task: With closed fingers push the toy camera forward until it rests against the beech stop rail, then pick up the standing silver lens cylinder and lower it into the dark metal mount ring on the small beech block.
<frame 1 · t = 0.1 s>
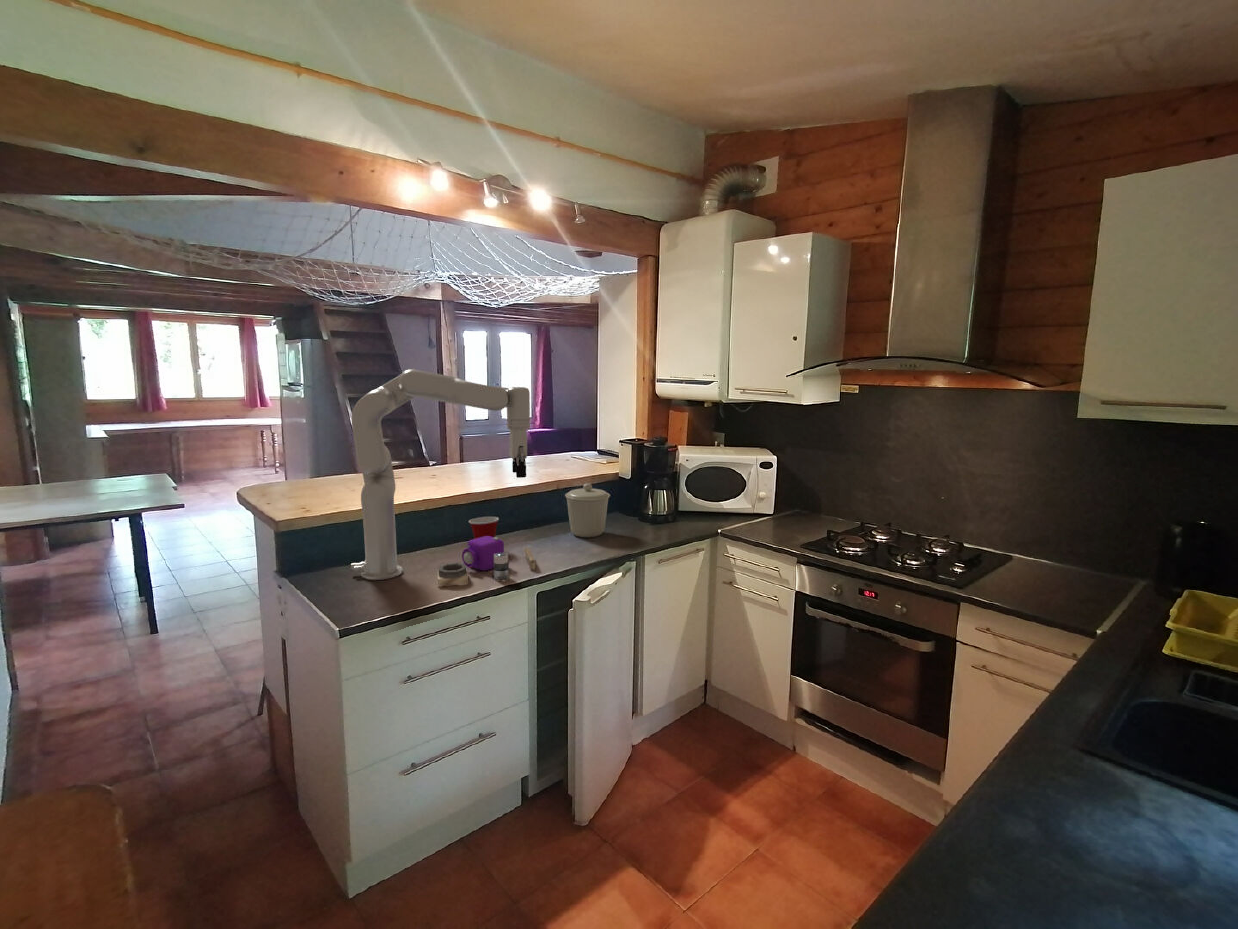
hand: (519, 474, 206), 31 cm above the countertop, tool pointing down, fingers open, 9 cm apart
mount: (452, 581, 192), on the countertop
plastic cup: (484, 550, 225), on the countertop
lens: (501, 578, 195), on the countertop
toy camera: (482, 568, 206), on the countertop
canister: (587, 534, 248), on the countertop
stop rail: (529, 563, 210), on the countertop
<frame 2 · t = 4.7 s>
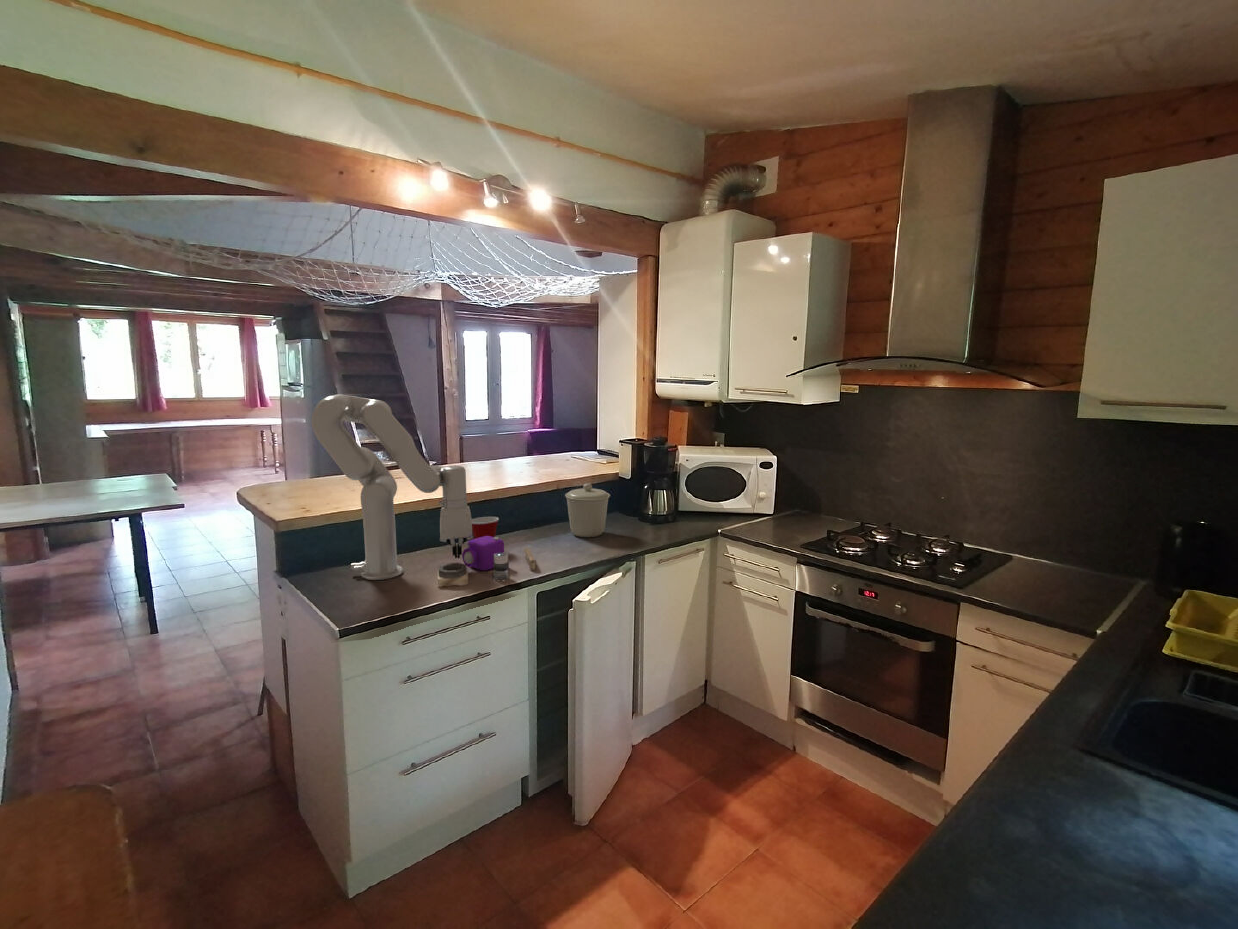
hand: (457, 557, 203), 4 cm above the countertop, tool pointing down, fingers closed
toy camera: (482, 568, 206), on the countertop, touching gripper
everything else where it was.
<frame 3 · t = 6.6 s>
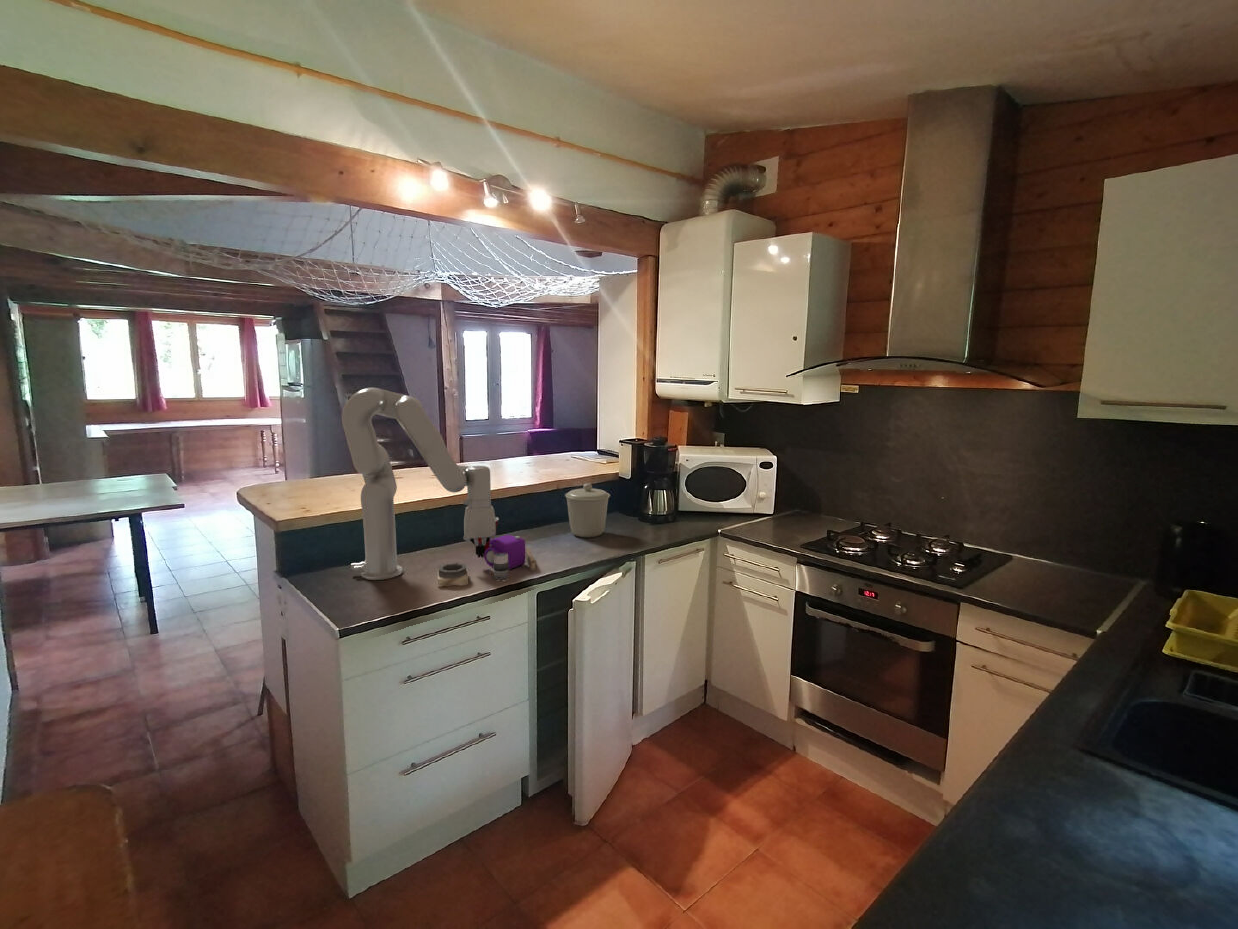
hand: (480, 556, 205), 4 cm above the countertop, tool pointing down, fingers closed
toy camera: (504, 567, 207), on the countertop, touching gripper
everything else where it was.
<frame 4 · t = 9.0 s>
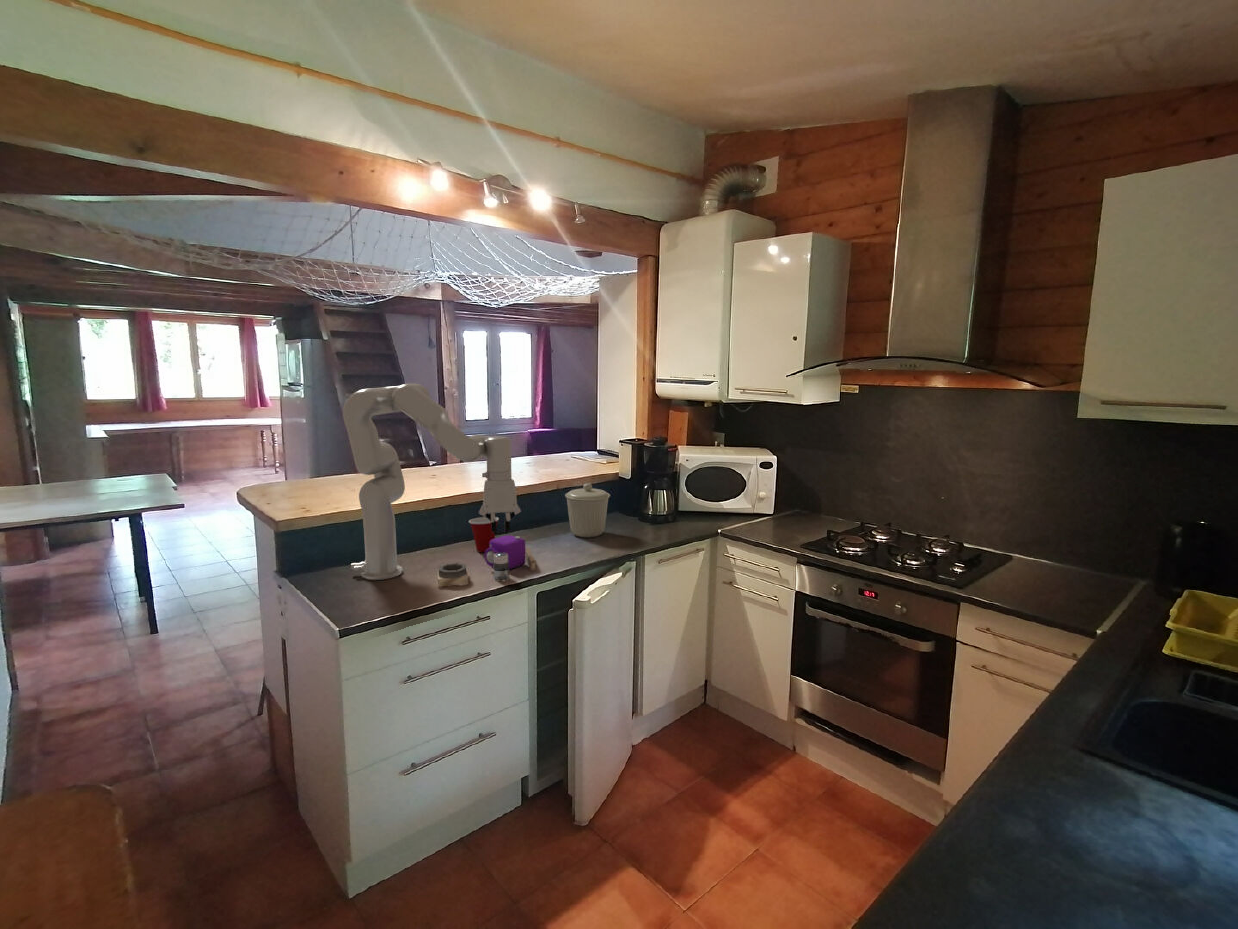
hand: (500, 532, 193), 15 cm above the countertop, tool pointing down, fingers closed
toy camera: (504, 567, 207), on the countertop
everything else where it was.
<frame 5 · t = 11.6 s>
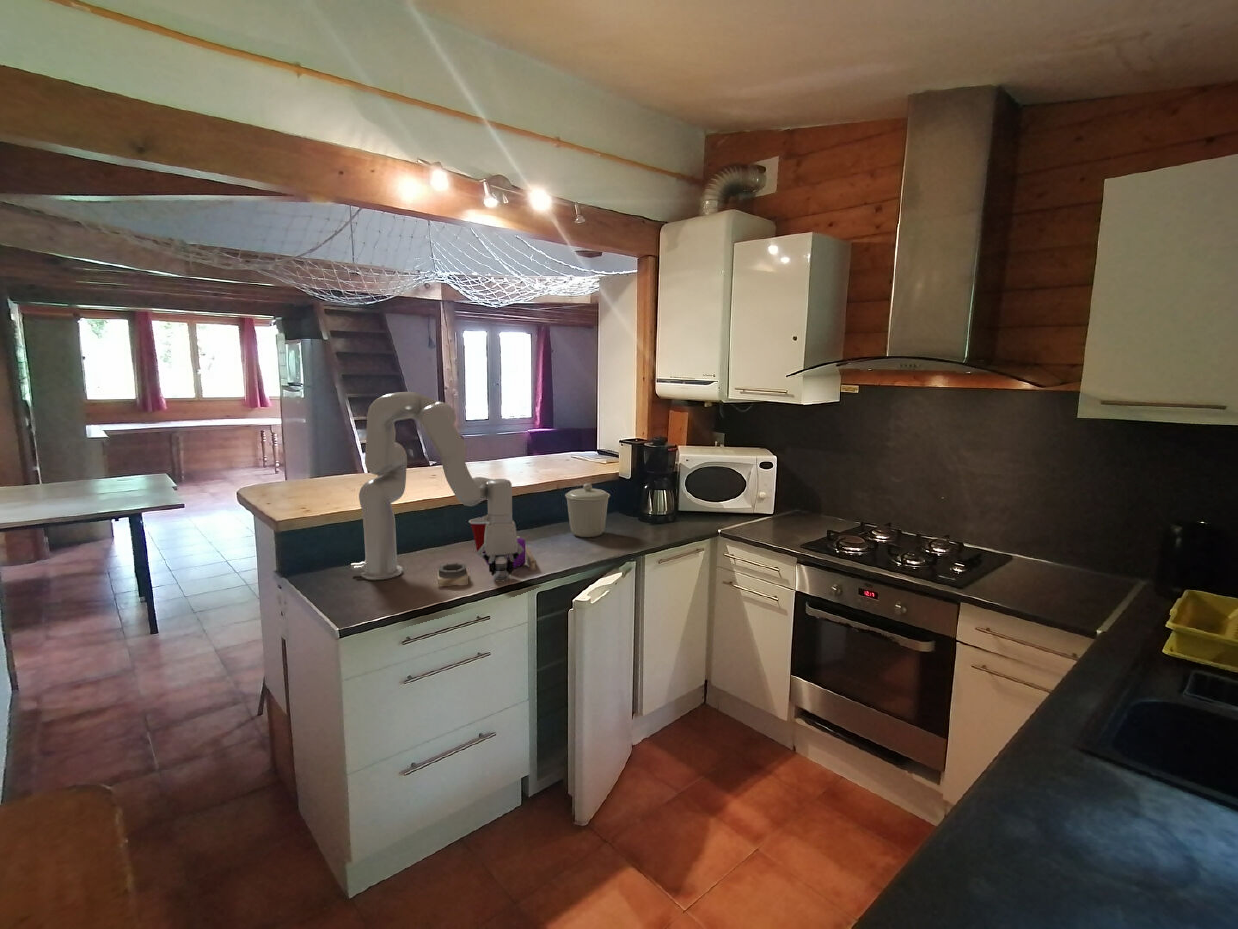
hand: (501, 572, 195), 2 cm above the countertop, tool pointing down, fingers closed on lens, 4 cm apart
lens: (501, 578, 195), on the countertop, touching gripper
everything else where it was.
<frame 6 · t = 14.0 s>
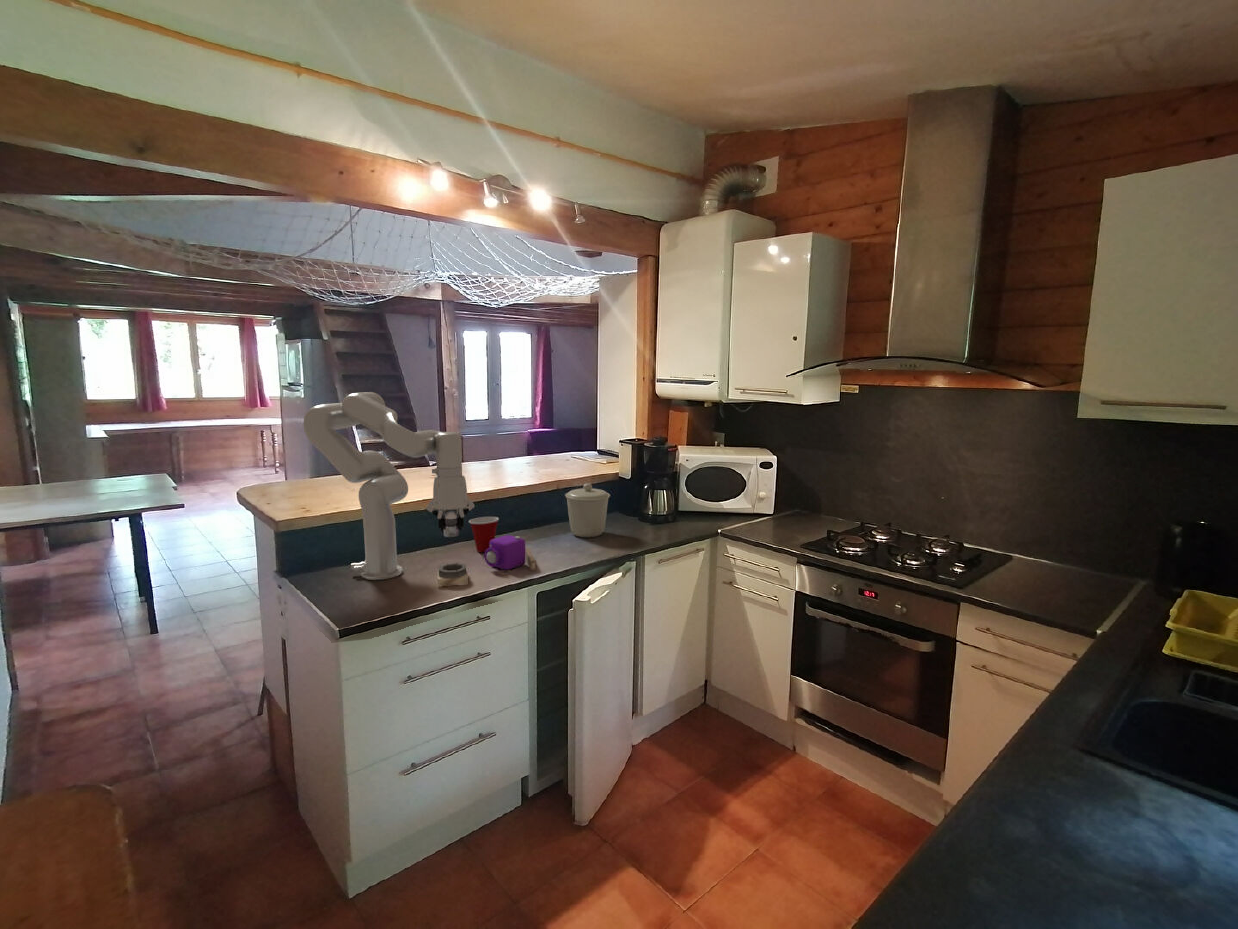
hand: (451, 529, 190), 17 cm above the countertop, tool pointing down, fingers closed on lens, 4 cm apart
lens: (451, 535, 190), point 15 cm above the countertop, touching gripper
everything else where it was.
when the fingers open (5 cm above the countertop, at t = 16.4 s): lens stays where it is, resting on mount.
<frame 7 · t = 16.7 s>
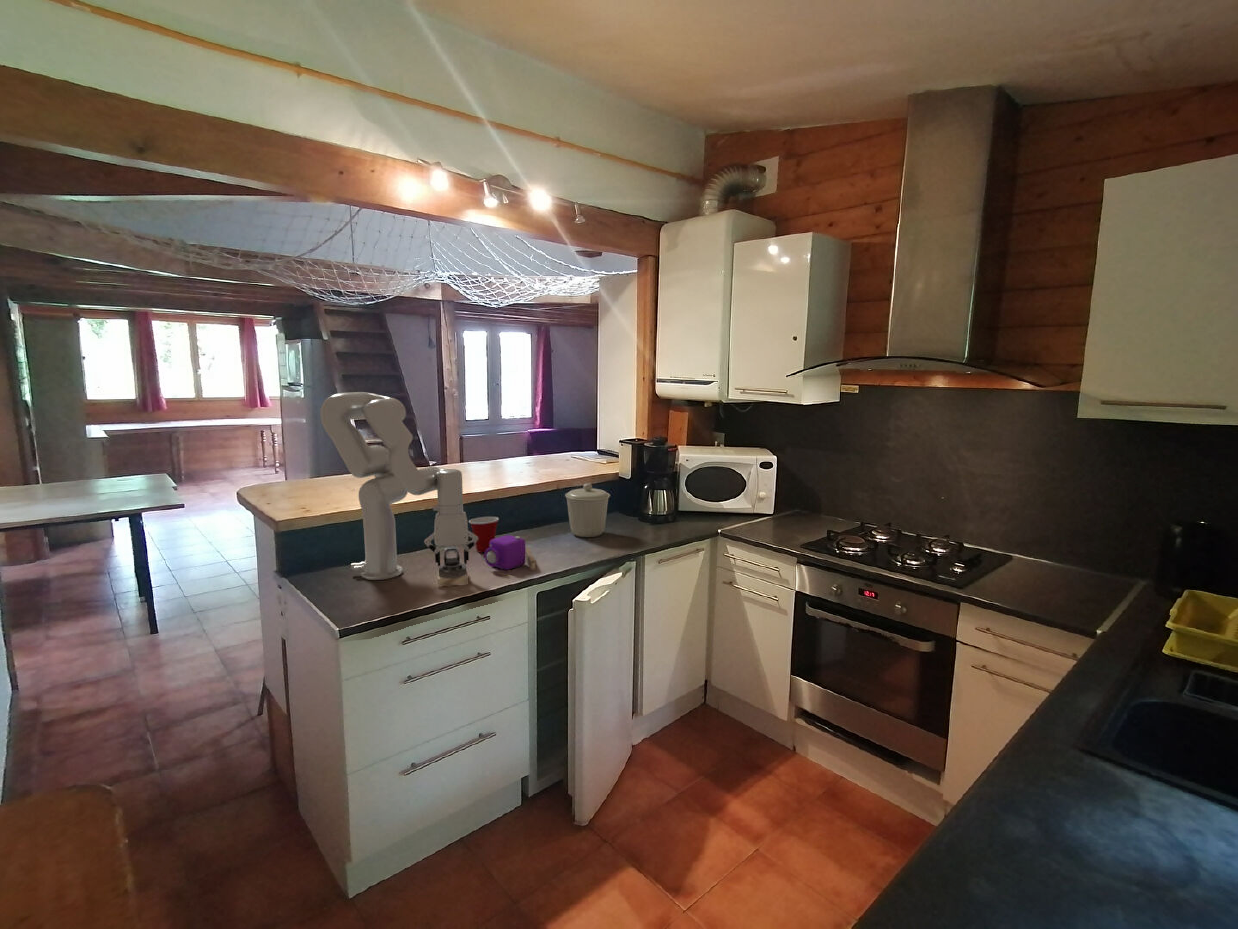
hand: (452, 563, 191), 6 cm above the countertop, tool pointing down, fingers open, 7 cm apart
lens: (452, 573, 192), point 3 cm above the countertop, touching mount
everything else where it was.
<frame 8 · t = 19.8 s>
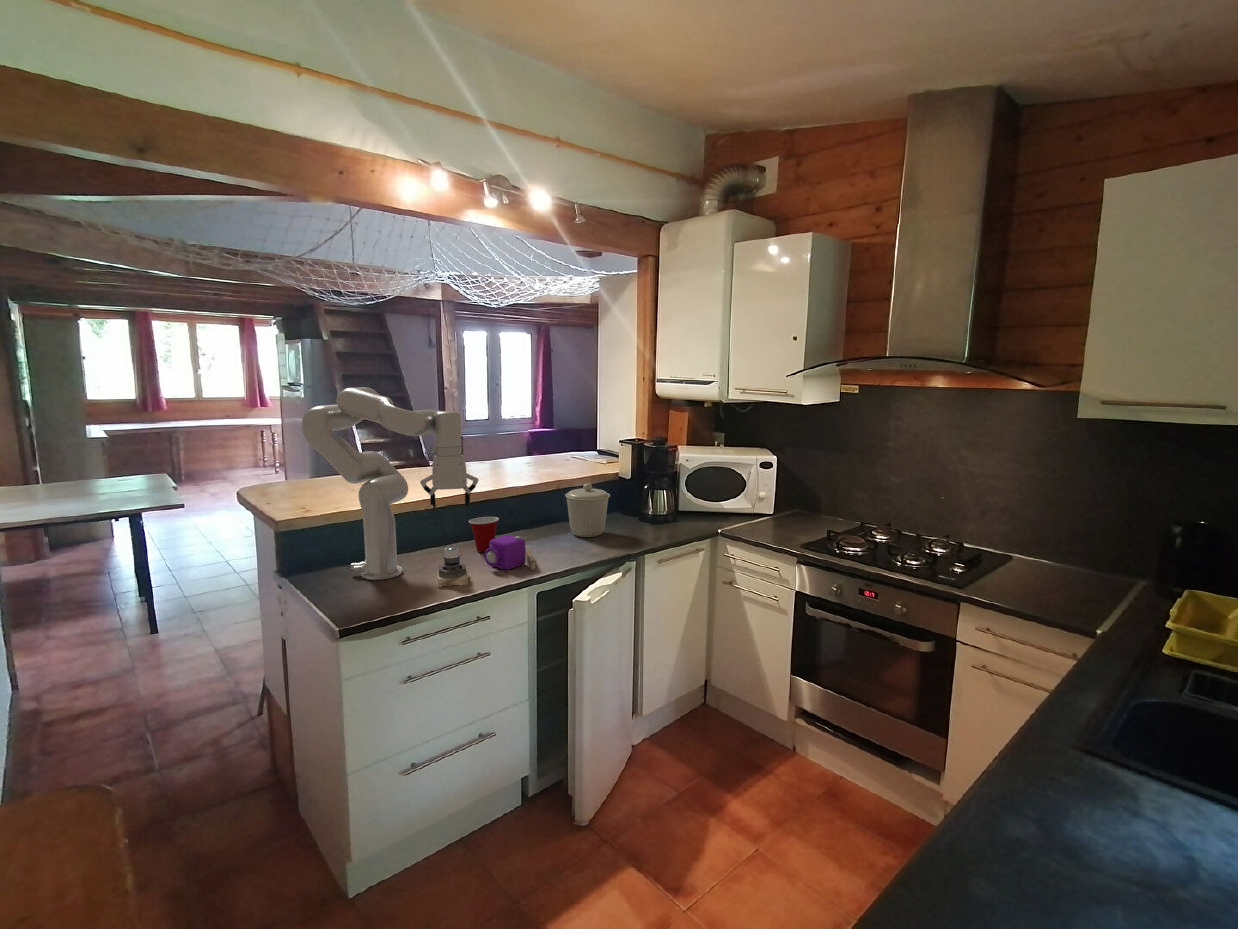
hand: (450, 506, 188), 24 cm above the countertop, tool pointing down, fingers open, 9 cm apart
nothing on the countertop moved.
at the end: toy camera inside the target area (1.7 cm from its centre), on the countertop; lens 0.1 cm off-centre on the mount, point 2.5 cm above the mount's base; lens tilted 0° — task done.
